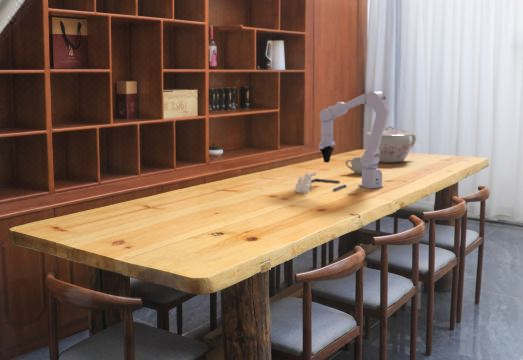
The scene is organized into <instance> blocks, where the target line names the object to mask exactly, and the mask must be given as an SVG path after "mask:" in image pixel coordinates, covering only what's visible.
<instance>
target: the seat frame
mask: <svg viewBox="0 0 523 360" xmlns="http://www.w3.org/2000/svg"><path fill="white" fill-rule="evenodd" d="M321 181H322V183H334V184H340V183H341V181H340V180H338V179H337V180H336V179H323V178H313V179H311V184H313V183H315V182H321ZM344 188H347V184H341V185H339V186H337V187H334V188H333V189H332V191H333V192H337V191H340V190H342V189H344Z"/></svg>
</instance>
